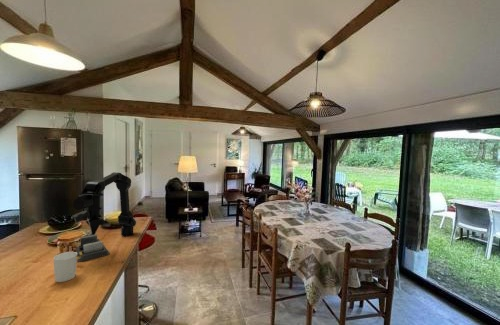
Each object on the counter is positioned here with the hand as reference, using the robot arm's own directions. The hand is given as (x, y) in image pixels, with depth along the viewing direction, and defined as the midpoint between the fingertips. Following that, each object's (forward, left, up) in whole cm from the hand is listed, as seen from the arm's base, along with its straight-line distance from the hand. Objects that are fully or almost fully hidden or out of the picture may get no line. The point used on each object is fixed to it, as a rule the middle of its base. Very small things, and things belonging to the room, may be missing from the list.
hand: (93, 234), depth 117 cm
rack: (0, -7, -11) cm, 13 cm away
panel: (0, 0, -11) cm, 11 cm away
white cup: (+13, +17, -12) cm, 24 cm away
